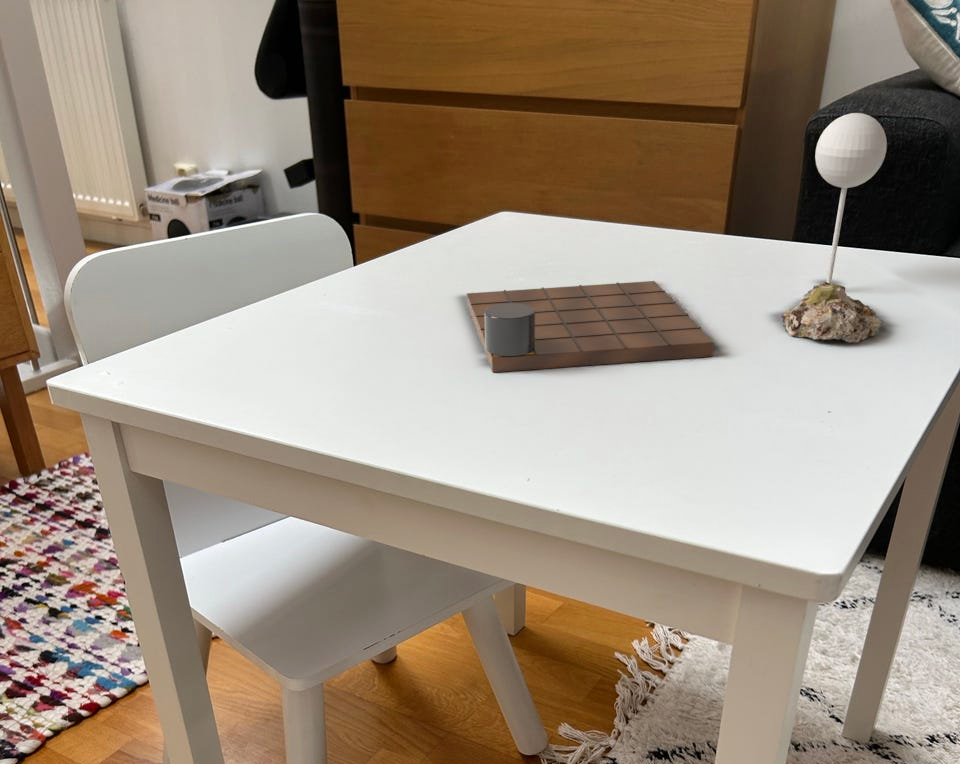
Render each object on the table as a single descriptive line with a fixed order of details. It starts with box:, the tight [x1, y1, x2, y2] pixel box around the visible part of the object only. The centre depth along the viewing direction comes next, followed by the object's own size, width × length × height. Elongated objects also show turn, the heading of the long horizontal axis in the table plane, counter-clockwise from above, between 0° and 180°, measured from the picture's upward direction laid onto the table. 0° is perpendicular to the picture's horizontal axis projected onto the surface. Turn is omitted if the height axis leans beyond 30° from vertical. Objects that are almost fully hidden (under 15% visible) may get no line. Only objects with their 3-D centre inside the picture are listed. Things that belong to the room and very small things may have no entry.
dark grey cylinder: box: [484, 303, 535, 356], centre depth 79 cm, size 4×4×3 cm
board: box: [466, 280, 714, 373], centre depth 86 cm, size 18×18×1 cm
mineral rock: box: [781, 281, 884, 344], centre depth 85 cm, size 11×4×8 cm
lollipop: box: [814, 112, 888, 284], centre depth 89 cm, size 6×6×15 cm
